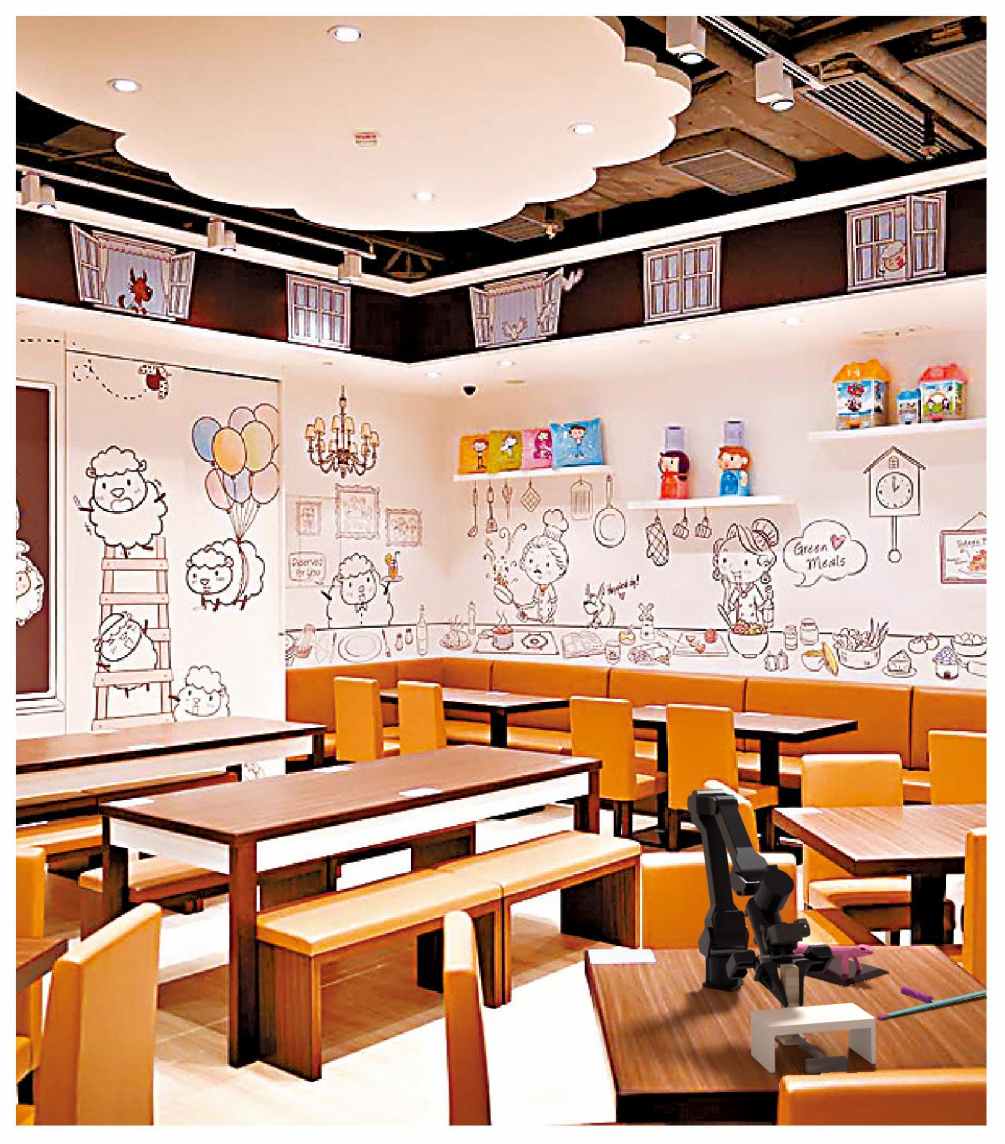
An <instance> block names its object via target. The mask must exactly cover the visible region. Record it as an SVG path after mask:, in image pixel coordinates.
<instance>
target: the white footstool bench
mask: <svg viewBox="0 0 1005 1144" xmlns="http://www.w3.org/2000/svg"><path fill="white" fill-rule="evenodd" d="M876 1028H877V1027H876V1017H875V1016H873V1015H872V1014H870V1013H868V1012H867V1011H866V1010H863V1008H861V1007H859V1006H858V1005H856V1004H855V1003H853V1002H850V1003H849V1002H848V1003H837V1004H836V1003H834V1004H821V1005H810V1006H802V1007H800V1006H799V1007H794V1008H781V1007H780V1008H770V1009H759V1010H750V1053H751V1054H750V1055H751V1057H752V1058H754V1059H755V1060H756V1061H757V1062H758V1063H759V1064H760V1065H761V1066H762V1067H764V1068H765V1069H766V1070H767V1071H768V1073H770V1074H774V1073H776V1048H775V1047H776V1041H775V1039H776V1038H775V1036H776V1035H788V1034H810V1033H823V1032H833V1031H834V1032H836V1031H845V1030H847V1031H848V1047H849V1049H851V1050H852V1051H854V1052H855V1053H856V1054H858V1055H859V1056H860V1057H862V1058H863V1059H864V1060H866V1062H867V1061H868V1063H870V1064H871V1065H875V1064H877V1037H876V1036H877V1035H876V1034H877V1033H876Z"/></svg>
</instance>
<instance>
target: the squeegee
mask: <svg viewBox="0 0 1005 1144" xmlns="http://www.w3.org/2000/svg"><path fill="white" fill-rule="evenodd" d="M986 990H987V989H985V990H980V991H975V992H972V993H971V992H970V993H967V994H963V995H959V996H955V997H950V998H946V999H937V1000H934V997H933V996H931V995H929V994H926V993H925V994H924V993H921V992H920V991H915V990H913V988H910V987H908V986H902V987H901V989H900V993H901V992H902V993H901V994H903V993H904V994H903V995H906V996H909V995H911V996H910V997H912V996H913V998H915V997H916V999H918V998H919V999H918V1000H920V999H921V1000H920V1001H922V1000H923V1002H925V1004H921V1005H916V1006H911V1007H909V1008H905V1009H899V1010H896V1011H892V1012H887V1013H883V1014H879V1015H877V1016H876V1018H878V1019H877V1020H881V1021H882V1020H884V1018H885V1019H889V1018H891V1017H895V1016H897V1015H898V1016H900V1014H901V1015H904V1014H903V1013H906V1014H910V1013H915V1012H919V1011H918V1010H920V1011H923V1010H922V1009H924V1010H928V1008H929V1009H931V1008H930V1007H933V1006H938V1007H942V1006H941V1005H943V1006H946V1005H945V1004H948V1003H951V1002H957V1003H959V1002H958V1001H960V1000H964V999H966V998H974V997H976V996H979V995H980V996H981V995H982V996H983V995H985V993H986ZM930 1001H931V1002H932V1003H931V1002H930ZM948 1005H949V1004H948ZM888 1017H889V1018H888Z"/></svg>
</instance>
